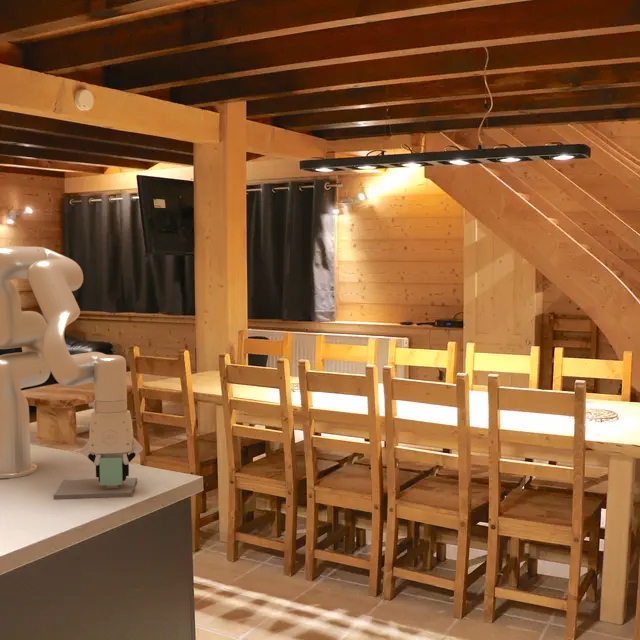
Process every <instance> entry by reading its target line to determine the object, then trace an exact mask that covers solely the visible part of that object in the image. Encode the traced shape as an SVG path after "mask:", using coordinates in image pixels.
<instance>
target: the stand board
mask: <svg viewBox="0 0 640 640" xmlns="http://www.w3.org/2000/svg"><path fill="white" fill-rule="evenodd" d="M137 482H138V478H137V477H126V480H125V481H123V484H122V485H119V486H118V488H109V489H107V485H100V482H99V480H98V478H91V479H90V478H87V479H85V478H84V479H63V481H62V482H61V483H60V485H59V487H58V488H57V489H56V491H55V492H54V494H53V500H70V499H71V500H72V499H100V498H103V499H104V498H121V497H122V498H124V497H125V498H127V497H132V496H133V493H134V491H135V488H136V486H137Z"/></svg>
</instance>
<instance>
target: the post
mask: <svg viewBox="0 0 640 640" xmlns="http://www.w3.org/2000/svg"><path fill="white" fill-rule="evenodd" d="M118 486H119V485H107V489H109V488H118Z"/></svg>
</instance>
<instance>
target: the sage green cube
mask: <svg viewBox="0 0 640 640" xmlns="http://www.w3.org/2000/svg"><path fill="white" fill-rule="evenodd" d="M99 462H100V485H122V484H123V471H122V465H123V459H122V456H121V454H102V456H101V457H100V458H99Z"/></svg>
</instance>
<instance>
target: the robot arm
mask: <svg viewBox="0 0 640 640" xmlns="http://www.w3.org/2000/svg"><path fill="white" fill-rule="evenodd" d="M12 280H28V283H29V285H30V288H31V290H32V292H33V295H34V297H35V299H36V301H37V303H38V306H39V308H40V310H41V312H42V314H41V313H39V312H38V311H35V310H34V311H33V310H25V311H23V310H22V304H21V295H20V293H19V290H18V289H17V287H16V286H15V284H14V283H13V282H12ZM83 283H84V273H83V269H82V268H81V266H80V265H79V264H78V263H77V262H76V261H74V260H73V259H71V257H70V258H69V257H67V256H65V255H63V254H60V253H59V252H56V251H54V250H52V249H50V248H49V249H48V248H46V247H43V246H22V245H21V246H20V245H18V246H17V245H16V246H14V245H7V246H5V245H4V246H0V350H8V349H17V348H21V351H22V352H21V351H20V352H12V353H4V354H1V355H0V479H14V478H20V477H24V476H29V475H32V474H34V473H35V472H36V471H37V470H38V465H37V463H34V462H32V461H31V460H32V459H31V458H32V457H31V434H30V433H31V430H30V427H31V426H30V425H31V424H30V407H29V406H30V405H29V402H28V399H27V398H26V396H25V394H24V393H23V391H22V389H24V388H28V387H29V388H30V387H35V386H38V385H41V384H44V383H45V382H46V381H47V380H48V379H49V378H50V375H51V374H52V377H53V378H54V379H55V381H56V382H57V383H58V384H60V385H61V386H63V387H69V388H71V387H77V386H82V385H86V384H92V383H93V385H94V400H93V401H89V402H88V408H92V409H93V411H92V412H91V414H90V421H89V433H88V436H89V437H88V439H89V440H88V441H87V442H86V443H85V444H84V446H83V447H82V448H81V450H80V453H81V454H82V455H84V456H85V457H87V458H88V460H90V461H91V462H92V463H93V464H94V465H95V477H96V478H97V479H98V480H99V482H100V462H99V458H100V457H101V456H102V454H121V456H122V459H123V465H122V471H123V481H125V480H126V478H127V477H129V475H130V470H129V469H130V467H129V463H130V462H132V460H133V459H134V458H135V457H136V456H138V455H139V454H140V453H142V451H143V446H142V445H141V444H140V443H139V441H138V440H137V439H136V438H135V437H134V429H133V428H134V427H133V420H132V416H131V411H130V410H128V396H127V395H128V394H127V393H128V391H127V390H128V387H127V360H126V358H125V357H124V356H122V355H119V354H118V355H117V354H105V353H104V352H99V351H90V352H83V353H75V354H71V353H70V351H69V349H68V347H67V344H66V339H65V331H66V328H67V326H69V325H70V324H71V323H73V322H75V321H76V320H77V319H78V318H79V316H80V315H81V309H80V307H79V305H78V304H79V303H78V302H77V300H76V298H75V296H74V294H73V292H75V291H77V290H78V289H80V288H81V287H82V284H83ZM133 448H134V449H133ZM132 450H133V451H132Z"/></svg>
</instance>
